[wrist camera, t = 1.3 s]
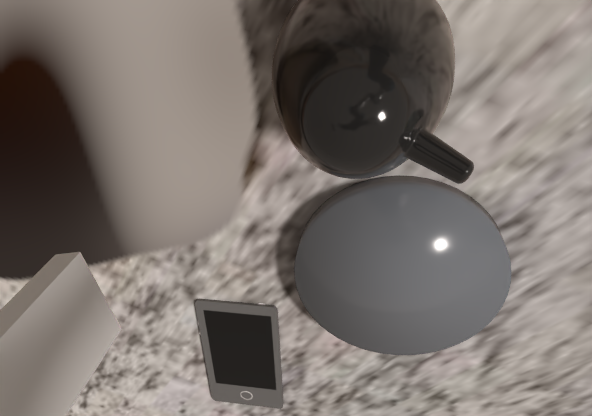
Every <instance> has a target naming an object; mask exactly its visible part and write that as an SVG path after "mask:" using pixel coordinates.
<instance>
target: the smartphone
mask: <svg viewBox="0 0 592 416" xmlns="http://www.w3.org/2000/svg"><path fill="white" fill-rule="evenodd" d="M195 308H196V314H197V319H198V325H199V330H200V332H199V334H200V335H201V341H202V346H203V352H204V357H205V363H206V368H207V374H208V379H209V384H210V390H211V395H212V398H213V399H214V400H215V401H222V402H230V403H238V404H246V405H254V406H262V407H270V408H278V409H281V408H282V407H283V387H282V371H281V356H280V340H279V324H278V310H277V308H276V306H274V305H265V304H263V303H258V304H253V303H242V302H230V301H219V300H208V299H197V300H196V302H195Z"/></svg>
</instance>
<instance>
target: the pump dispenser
mask: <svg viewBox="0 0 592 416" xmlns="http://www.w3.org/2000/svg"><path fill="white" fill-rule="evenodd" d="M454 73H455V48H454V41H453V36H452V32H451V28H450V25H449V23H448V20H447V18H446V16H445V14H444V12H443V10H442V8H441V6H440V5H439V3H438V2H437V1H436V0H298V1H297V2H296V3H295V5H294V6H293V8H292V9H291V10H290V12H289V14H288V15H287V17H286V19H285V21H284V23H283V25H282V27H281V30H280V33H279V36H278V39H277V42H276V46H275V50H274V55H273V62H272V91H273V97H274V102H275V106H276V110H277V113H278V116H279V118H280V121H281V123H282V126H283V128H284V130H285V132H286V134H287V136H288V138H289V139H290V141H291V142H292V144H293V145H294V147H295V148H296V149H297V150H298V152H299V153H300V154H301V155H302V156H303V157H304V158H305V159H306V160H307V161H309V162H310V163H311V164H312V165H314V166H315V167H317V168H319V169H320V170H322V171H324V172H326V173H329V174H331V175H334V176H338V177H343V178H350V179H362V178H370V177H374V176H378V175H381V174H384V173H386V172H389V171H391V170H393V169H394V168H396V167H398V166H399V165H401V164H402V163H404V162H405V161H406V160H408V159H410V160H412V161H414V162H416V163H418V164H420V165H422V166H424V167H426V168H428V169H430V170H432V171H434V172H436V173H438V174H440V175H442V176H444V177H446V178H448V179H450V180H452V181H454V182H456V183H458V184H460V183H463V182H465V181H466V180H467V179H468V178H469V176H470V175H471V173H472V172H473V169H474V164H473V162H472V161H471V160H469V159H468V158H466V157H465V156H463V155H462V154H461V153H459V152H458V151H456V150H455V149H453V148H452V147H451V146H449V145H448V144H446V143H445V142H443V141H442V140H440V139H439V138H438V137H436V136H435V135H433V133H434V131H435V130H436V128H437V126H438V125H439V123H440V121H441V119H442V117H443V115H444V113H445V111H446V108H447V106H448V103H449V100H450V96H451V92H452V88H453V82H454Z"/></svg>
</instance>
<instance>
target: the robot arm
mask: <svg viewBox="0 0 592 416" xmlns="http://www.w3.org/2000/svg"><path fill="white" fill-rule="evenodd" d="M121 329H122V328H121V326H120V325H119V323H118V321H117V319H116V317H115V315H114V314H113V312H112V310H111V308H110V306H109V304H108V302H107V301H106V299H105V297H104V295H103V293H102V291H101V290H100V288H99V286H98V284H97V282H96V280H95V278H94V277H93V275H92V273H91V271H90V269H89V267H88V266H87V264H86V262H85V260H84V258H83V256H82V254H81V253H80V252H76V253H67V254H57V255H55V256H54V257H53V258H52V259H51V260H50V261H49V262H48V263H47V264H46V265H45V266H44V267H43V268H42V269H41V270H40V271H39V272H38V273H37V274H36V275H35V276H34V277H33V278H32V279H31V280H30V281H29V282H28V283H27V284H26V285H25V286H24V287H23V288H22V289H21V290H20V291H19V292H18V293H17V294H16V295H15V296H14V297H13V298H12V299H11V300H10V301H9V302H8V303H7V304H6V305H5V306H4V307H3V308H2V309H1V310H0V416H66V415H67V413H68V412H69V410H70V409H71V407H72V406H73V404H74V402H75V401H76V399H77V398H78V396H79V395H80V393H81V392H82V390H83V388H84V387H85V385H86V384H87V382H88V381H89V379H90V378H91V376H92V374H93V373H94V371H95V370H96V368H97V367H98V365H99V364H100V362H101V360H102V359H103V357H104V356H105V354H106V353H107V351H108V350H109V348H110V346H111V345H112V343H113V342H114V340H115V339H116V337H117V336H118V334H119V332H120V331H121Z"/></svg>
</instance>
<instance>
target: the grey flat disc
mask: <svg viewBox="0 0 592 416" xmlns="http://www.w3.org/2000/svg"><path fill="white" fill-rule="evenodd" d="M294 272H295V282H296V287H297V291H298V293H299V296H300V299H301V300H302V302H303V304H304V306H305V308H306V309H307V311H308V312H309V313H310V315H311V316H312V317H313V318H314V319H315V320H316V321H317V322H318V323H319V324H320V325H321V326H322V327H323V328H324V329H326V330H327V331H328V332H330V333H331V334H333V335H334V336H336V337H337V338H339V339H341V340H343V341H345V342H347V343H349V344H351V345H354V346H356V347H359V348H362V349H365V350H369V351H373V352H378V353H383V354H392V355H416V354H425V353H431V352H436V351H439V350H443V349H447V348H449V347H452V346H454V345H457V344H459V343H461V342H463V341H465V340H467V339H469V338H471V337H472V336H474V335H475V334H477V333H478V332H480V331H481V330H482V329H483V328H484V327H485V326H487V325H488V324H489V323H490V322H491V320H492V319H493V318H494V317H495V316H496V315H497V313H498V312H499V310H500V309H501V307H502V306H503V304H504V302H505V299H506V297H507V295H508V291H509V288H510V283H511V262H510V258H509V254H508V251H507V248H506V245H505V243H504V240H503V238H502V235H501V233H500V231H499V229H498V227H497V225H496V223H495V222H494V220H493V219H492V217H491V216H490V214H489V213H488V212H487V211H486V210H485V209H484V208H483V207H482V206H481V205H480V204H479V203H478V202H477V201H475V200H474V199H473V198H472V197H470V196H469V195H467V194H465V193H464V192H462V191H460V190H459V189H457V188H454V187H452V186H450V185H447V184H445V183H442V182H438V181H435V180H431V179H427V178H421V177H414V176H390V177H381V178H376V179H371V180H367V181H364V182H361V183H357V184H355V185H353V186H350V187H348V188H346V189H344V190H342V191H340V192H339V193H337V194H335V195H334V196H332V197H331V198H330V199H328V200H327V201H326V202H325V203H323V204H322V205H321V206H320V207H319V208H318V210H317V211H316V212H315V213H314V214H313V215H312V217H311V218H310V220H309V221H308V223H307V225H306V227H305V229H304V231H303V233H302V236H301V239H300V243H299V246H298V250H297V254H296V259H295V267H294Z"/></svg>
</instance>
